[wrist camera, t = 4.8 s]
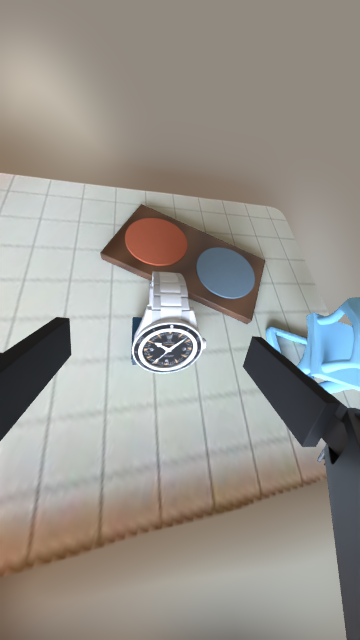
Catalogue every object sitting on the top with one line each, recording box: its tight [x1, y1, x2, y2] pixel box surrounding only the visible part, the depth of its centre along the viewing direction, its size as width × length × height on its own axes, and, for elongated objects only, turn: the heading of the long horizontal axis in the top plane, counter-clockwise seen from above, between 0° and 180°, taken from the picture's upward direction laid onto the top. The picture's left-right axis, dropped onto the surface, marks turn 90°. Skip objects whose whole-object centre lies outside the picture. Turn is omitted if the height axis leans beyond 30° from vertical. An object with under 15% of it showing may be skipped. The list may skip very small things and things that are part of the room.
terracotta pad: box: [125, 218, 187, 266], centre depth 27 cm, size 9×9×1 cm
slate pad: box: [196, 247, 255, 299], centre depth 27 cm, size 9×9×1 cm
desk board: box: [100, 204, 265, 324], centre depth 27 cm, size 22×12×1 cm, turn 69°
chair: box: [266, 298, 360, 394], centre depth 19 cm, size 8×8×12 cm
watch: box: [131, 271, 206, 373], centre depth 17 cm, size 6×8×11 cm
